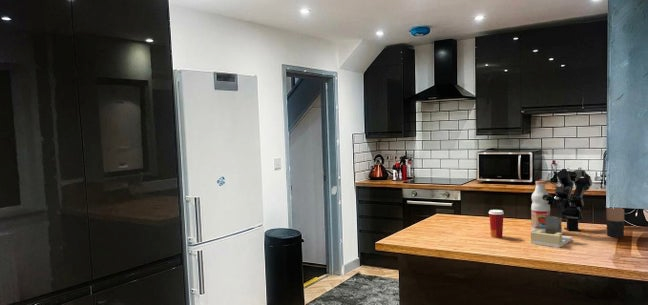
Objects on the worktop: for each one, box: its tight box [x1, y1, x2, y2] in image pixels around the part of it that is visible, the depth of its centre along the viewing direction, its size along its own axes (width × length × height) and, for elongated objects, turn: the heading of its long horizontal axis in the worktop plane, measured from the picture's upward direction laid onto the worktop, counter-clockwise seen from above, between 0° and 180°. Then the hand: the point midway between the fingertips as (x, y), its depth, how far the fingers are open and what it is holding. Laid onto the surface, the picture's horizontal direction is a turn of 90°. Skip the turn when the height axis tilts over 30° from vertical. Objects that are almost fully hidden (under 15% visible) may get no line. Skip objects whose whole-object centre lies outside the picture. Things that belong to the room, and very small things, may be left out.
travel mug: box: [606, 207, 625, 239], centre depth 225 cm, size 8×8×20 cm
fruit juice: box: [530, 180, 551, 233], centre depth 241 cm, size 9×9×28 cm
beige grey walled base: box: [530, 230, 573, 248], centre depth 220 cm, size 20×13×6 cm, turn 134°
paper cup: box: [488, 209, 505, 239], centre depth 233 cm, size 8×8×14 cm
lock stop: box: [545, 215, 563, 234], centre depth 222 cm, size 5×6×10 cm
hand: (559, 213), depth 227 cm, fingers closed
